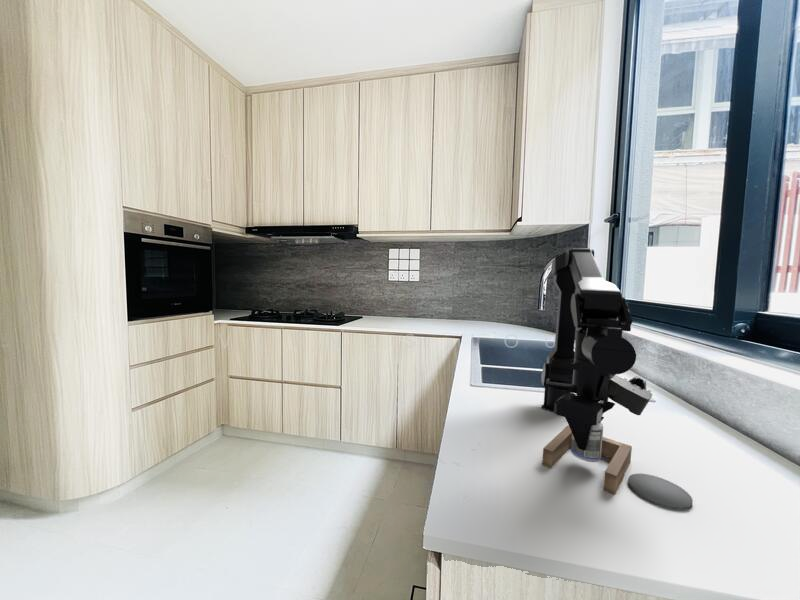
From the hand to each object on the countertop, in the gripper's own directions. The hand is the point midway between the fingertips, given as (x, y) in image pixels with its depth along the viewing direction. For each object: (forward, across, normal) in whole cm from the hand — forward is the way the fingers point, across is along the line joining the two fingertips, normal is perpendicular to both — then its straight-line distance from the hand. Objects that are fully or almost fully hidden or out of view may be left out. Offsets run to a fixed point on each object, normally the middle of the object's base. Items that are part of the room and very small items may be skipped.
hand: (586, 444), depth 58 cm
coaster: (+4, +1, -10) cm, 11 cm away
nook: (+4, +2, 0) cm, 4 cm away
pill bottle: (+2, 0, 0) cm, 2 cm away
